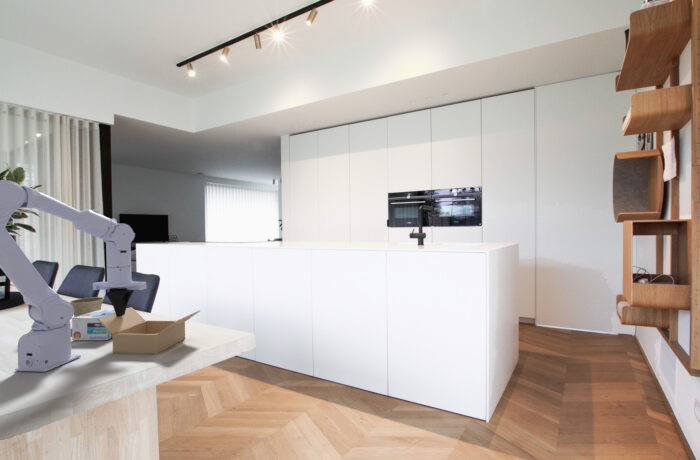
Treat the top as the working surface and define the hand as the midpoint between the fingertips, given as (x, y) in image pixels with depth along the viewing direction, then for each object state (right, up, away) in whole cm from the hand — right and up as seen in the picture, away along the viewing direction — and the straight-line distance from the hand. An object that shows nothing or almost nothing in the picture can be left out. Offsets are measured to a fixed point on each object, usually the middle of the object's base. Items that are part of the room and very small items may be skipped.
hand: (120, 315), depth 99 cm
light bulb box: (-11, -5, +15) cm, 19 cm away
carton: (+9, -8, -1) cm, 12 cm away
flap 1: (+1, -1, 0) cm, 1 cm away
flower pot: (-24, -8, +20) cm, 32 cm away
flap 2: (+17, -1, -2) cm, 17 cm away
